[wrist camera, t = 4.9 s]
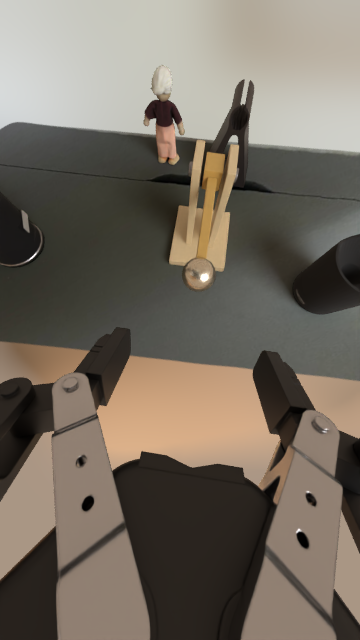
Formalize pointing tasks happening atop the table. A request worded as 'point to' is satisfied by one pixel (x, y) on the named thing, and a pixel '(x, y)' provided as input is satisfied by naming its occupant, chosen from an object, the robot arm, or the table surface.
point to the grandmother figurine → (164, 116)
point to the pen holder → (331, 279)
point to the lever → (205, 228)
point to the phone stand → (236, 131)
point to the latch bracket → (192, 216)
